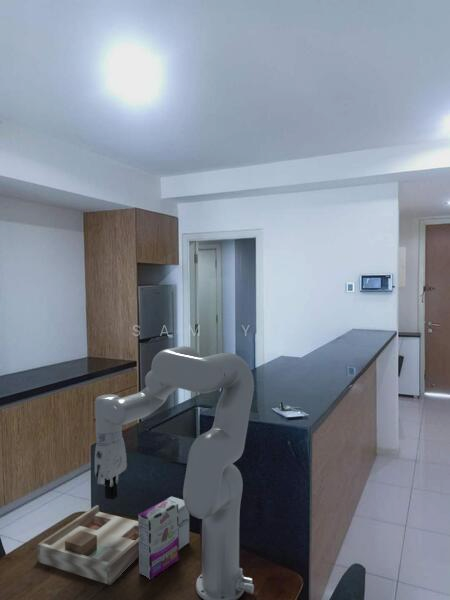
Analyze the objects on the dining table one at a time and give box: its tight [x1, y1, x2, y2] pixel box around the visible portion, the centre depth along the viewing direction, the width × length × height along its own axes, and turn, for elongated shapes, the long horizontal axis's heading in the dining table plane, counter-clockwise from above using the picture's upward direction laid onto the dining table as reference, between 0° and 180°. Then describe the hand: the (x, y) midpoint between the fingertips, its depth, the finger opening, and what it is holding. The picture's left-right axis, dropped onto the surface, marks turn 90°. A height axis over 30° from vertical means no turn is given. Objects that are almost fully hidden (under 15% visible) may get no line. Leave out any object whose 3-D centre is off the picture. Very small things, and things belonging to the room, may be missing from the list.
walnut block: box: [65, 531, 97, 556], centre depth 124 cm, size 6×6×4 cm
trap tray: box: [37, 504, 139, 586], centre depth 131 cm, size 25×25×5 cm
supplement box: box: [167, 496, 190, 550], centre depth 133 cm, size 7×7×13 cm
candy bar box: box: [137, 498, 180, 581], centre depth 123 cm, size 11×5×16 cm, turn 143°
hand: (111, 497), depth 134 cm, fingers closed
